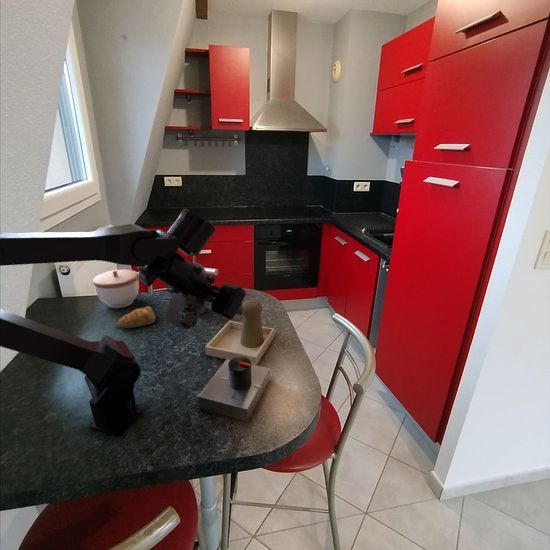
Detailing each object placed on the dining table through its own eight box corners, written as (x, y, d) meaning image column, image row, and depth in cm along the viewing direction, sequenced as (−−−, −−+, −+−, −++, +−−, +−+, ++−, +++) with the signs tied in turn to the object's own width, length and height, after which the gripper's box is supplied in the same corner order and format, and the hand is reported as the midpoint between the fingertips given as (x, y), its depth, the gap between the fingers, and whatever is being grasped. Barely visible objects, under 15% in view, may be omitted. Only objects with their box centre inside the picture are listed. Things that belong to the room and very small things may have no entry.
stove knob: (225, 387, 62) (224, 366, 60) (235, 373, 66) (234, 353, 64) (246, 392, 61) (245, 371, 59) (255, 377, 65) (254, 357, 63)
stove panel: (249, 422, 58) (248, 409, 57) (199, 408, 61) (197, 395, 60) (271, 380, 69) (271, 368, 67) (227, 370, 72) (226, 358, 70)
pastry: (122, 333, 86) (120, 320, 84) (116, 323, 90) (113, 311, 89) (157, 322, 91) (155, 310, 90) (149, 313, 96) (147, 301, 95)
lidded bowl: (149, 296, 107) (145, 265, 103) (126, 314, 95) (119, 280, 91) (116, 293, 109) (110, 262, 105) (89, 310, 98) (81, 276, 94)
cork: (268, 339, 83) (268, 300, 79) (254, 350, 78) (253, 310, 74) (249, 332, 86) (248, 295, 82) (235, 343, 81) (233, 304, 77)
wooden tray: (256, 365, 73) (256, 357, 72) (205, 354, 77) (205, 346, 76) (274, 336, 84) (274, 328, 84) (229, 327, 88) (229, 320, 87)
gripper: (128, 298, 62) (182, 325, 74) (188, 330, 51) (239, 356, 63) (159, 250, 65) (206, 284, 77) (222, 271, 54) (265, 306, 66)
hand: (226, 306), depth 71 cm, fingers open, 9 cm apart
